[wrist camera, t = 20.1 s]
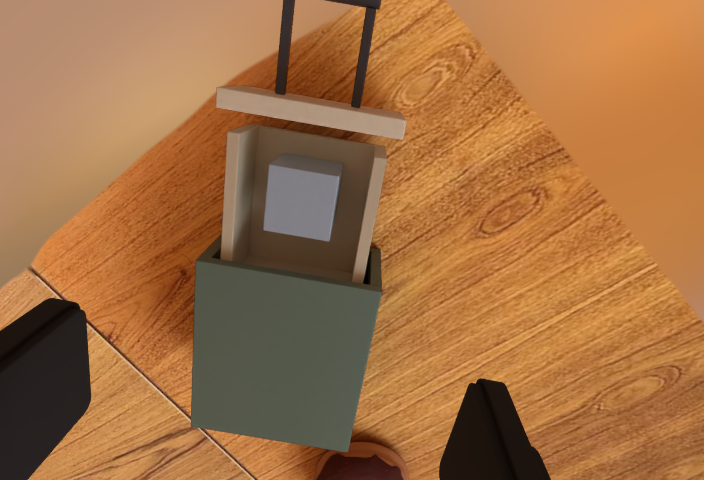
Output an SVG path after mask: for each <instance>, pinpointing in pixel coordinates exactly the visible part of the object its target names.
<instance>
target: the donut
mask: <svg viewBox="0 0 704 480" xmlns="http://www.w3.org/2000/svg"><path fill="white" fill-rule="evenodd" d="M315 480H409V472H408V469H407V466H406V463H405V462H404V460H403V459H402V458H401V456H400V455H398V454H397V453H396V452H394V451H393V450H391V449H389V448H387V447H384V446H382V445H379V444H375V443H371V442H351V443H350V444H349V449H348V452H342V451H335V450H329V451H328V452H326V453H325V454H324V455H323V456H322V458H321V459H320V461H319V463H318V466H317V468H316V471H315Z"/></svg>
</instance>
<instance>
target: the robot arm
mask: <svg viewBox="0 0 704 480" xmlns="http://www.w3.org/2000/svg"><path fill="white" fill-rule="evenodd" d="M90 401H91V386H90V371H89V355H88V340H87V324H86V314H85V312H84V311H83V310H81V309H80V306H79V304H78V303H76V302H71V301H66V300H60V299H55V298H49V299H47V300H45V301H43V302H42V303H40V304H39V305H37V306H36V307H34V308H33V309H32V310H30V311H29V312H27V313H26V314H24V315H23V316H21V317H20V318H18V319H17V320H15V321H14V322H13V323H11V324H10V325H8V326H7V327H5V328H4V329H2V330H1V331H0V480H28V479H29V477H30V476H31V475H32V474H33V473H34V472H35V470H36V469H37V468H38V467H39V466H40V465H41V463H42V462H43V461H44V460H45V459H46V458H47V456H48V455H49V454H50V453H51V452H52V451H53V449H54V448H55V447H56V446H57V445H58V444H59V442H60V441H61V440H62V439H63V438H64V437H65V435H66V434H67V433H68V432H69V431H70V430H71V429H72V427H73V426H74V425H75V424H76V423H77V422H78V420H79V419H80V418H81V417H82V416H83V415H84V413H85V412H86V410H87V409H88V407H89V404H90ZM439 477H440V480H551V479H550V477H549V474H548V472H547V470H546V467H545V465H544V463H543V460H542V458H541V456H540V454H539V452H538V451H537V450H536V449H535V448H534V447H532V446H531V445H530V442H529V440H528V438H527V435H526V433H525V430H524V428H523V426H522V423H521V421H520V418H519V416H518V414H517V411H516V409H515V406H514V404H513V402H512V399H511V397H510V394H509V392H508V390H507V387H506V385H505V384H504V383H502V382H497V381H492V380H486V379H478V380H477V382H476V384H474V383H470V384H469V386H468V388H467V391H466V394H465V396H464V399H463V402H462V404H461V407H460V410H459V413H458V415H457V418H456V421H455V424H454V426H453V429H452V432H451V434H450V437H449V440H448V443H447V445H446V448H445V451H444V454H443V456H442V459H441V462H440V468H439Z"/></svg>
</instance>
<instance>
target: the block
mask: <svg viewBox="0 0 704 480" xmlns="http://www.w3.org/2000/svg"><path fill="white" fill-rule="evenodd" d="M343 168H344V163H340V162H334V161H328V160H322V159H317V158H311V157H305V156H299V155H294V154H288V153H283V154H282V155H280V156H279V157H278V158H277V159H275V160H274V161H273V162H272V163H270V164H269V170H268V181H267V192H266V203H265V214H264V225H263V230H265V231H271V232H276V233H282V234H288V235H294V236H300V237H306V238H311V239H317V240H323V241H330V237H331V234H332V230H333V227H334V223H335V219H336V212H337V206H338V200H339V193H340V187H341V181H342V174H343Z"/></svg>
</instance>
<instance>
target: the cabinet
mask: <svg viewBox="0 0 704 480" xmlns="http://www.w3.org/2000/svg"><path fill="white" fill-rule="evenodd" d="M221 239H222V234H221V235H220V236H219V237H218V238H217V239H216V240H215V241H214V242H213V243H212V244H211V245H210V246H209V247H208V248H207V249H206V250H205V251H204V252H203V253H202V254H201V255H200V257H199V258H198V259H197V260H196V263H195V297H194V332H193V367H192V401H191V427H197V428H203V429H209V430H215V431H221V432H227V433H233V434H239V435H245V436H251V437H257V438H263V439H269V440H275V441H281V442H287V443H293V444H299V445H305V446H311V447H317V448H323V449H329V450H335V451H342V452H348V449H349V444H350V440H351V435H352V430H353V426H354V421H355V416H356V412H357V407H358V402H359V397H360V393H361V388H362V383H363V379H364V374H365V369H366V365H367V360H368V355H369V351H370V346H371V341H372V337H373V332H374V327H375V323H376V318H377V313H378V309H379V304H380V299H381V295H382V278H381V250H380V249H375V248H370V250H369V255H368V260H367V265H366V270H365V276H364V281H363V284H362V283H356V282H350V281H344V280H338V279H332V278H326V277H320V276H314V275H309V274H303V273H297V272H291V271H285V270H279V269H273V268H267V267H262V266H256V265H250V264H244V263H238V262H232V261H226V260H220V258H221Z"/></svg>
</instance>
